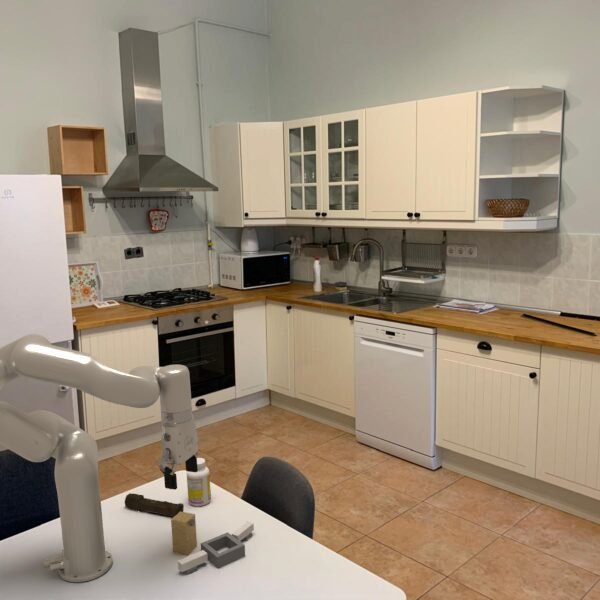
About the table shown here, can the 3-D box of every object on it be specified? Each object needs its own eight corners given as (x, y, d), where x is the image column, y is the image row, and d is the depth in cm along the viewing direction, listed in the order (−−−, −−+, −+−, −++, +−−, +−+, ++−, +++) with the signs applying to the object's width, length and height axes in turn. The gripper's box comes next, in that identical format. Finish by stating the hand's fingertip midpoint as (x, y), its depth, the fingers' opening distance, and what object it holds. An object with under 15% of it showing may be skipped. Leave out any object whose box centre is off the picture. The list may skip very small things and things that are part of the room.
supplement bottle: (203, 494, 192) (201, 454, 189) (215, 501, 187) (213, 461, 184) (184, 501, 187) (181, 460, 185) (195, 509, 182) (193, 467, 180)
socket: (269, 544, 163) (269, 534, 163) (188, 581, 149) (188, 570, 148) (249, 530, 170) (249, 520, 170) (170, 564, 156) (169, 553, 155)
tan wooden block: (190, 556, 159) (188, 523, 158) (170, 551, 161) (168, 519, 160) (199, 546, 163) (197, 514, 162) (179, 542, 165) (177, 510, 164)
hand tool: (185, 514, 180) (184, 499, 180) (177, 521, 177) (176, 505, 176) (131, 503, 188) (130, 488, 187) (122, 509, 184) (121, 494, 183)
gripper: (170, 429, 147) (176, 497, 150) (207, 404, 163) (211, 467, 166) (143, 426, 149) (149, 493, 152) (182, 402, 165) (186, 463, 168)
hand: (181, 479), depth 159 cm, fingers open, 9 cm apart
